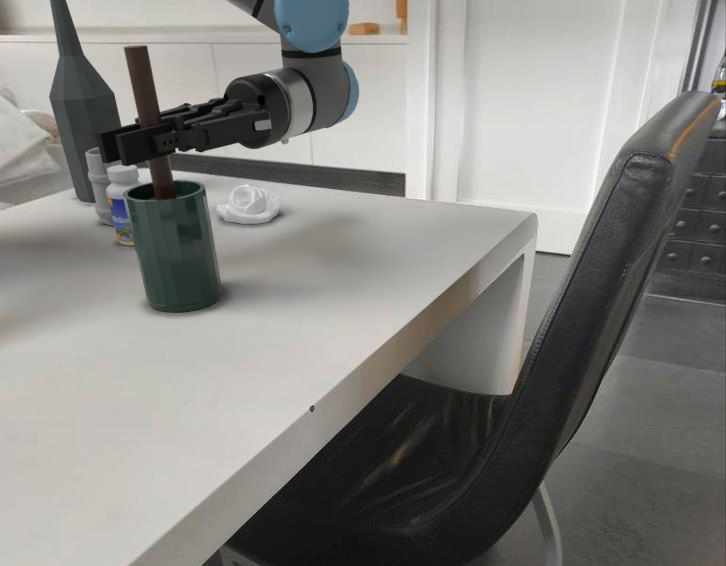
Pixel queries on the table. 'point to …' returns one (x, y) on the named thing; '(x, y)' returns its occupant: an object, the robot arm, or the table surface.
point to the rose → (249, 205)
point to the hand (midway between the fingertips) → (111, 149)
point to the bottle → (78, 101)
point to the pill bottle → (121, 199)
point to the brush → (149, 116)
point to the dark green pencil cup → (174, 246)
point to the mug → (100, 184)
